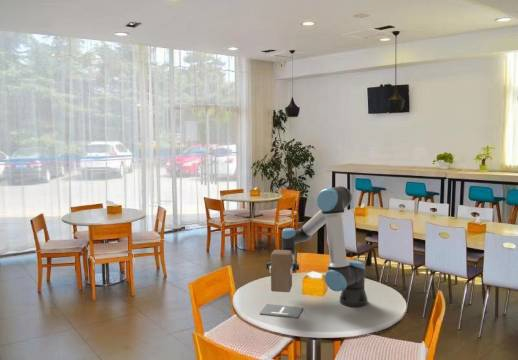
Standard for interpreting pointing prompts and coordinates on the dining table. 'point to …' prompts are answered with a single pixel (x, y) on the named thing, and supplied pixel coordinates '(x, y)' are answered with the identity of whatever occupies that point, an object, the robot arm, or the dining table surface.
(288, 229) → the robot arm
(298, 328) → the dining table surface
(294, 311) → the letter board
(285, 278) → the block
